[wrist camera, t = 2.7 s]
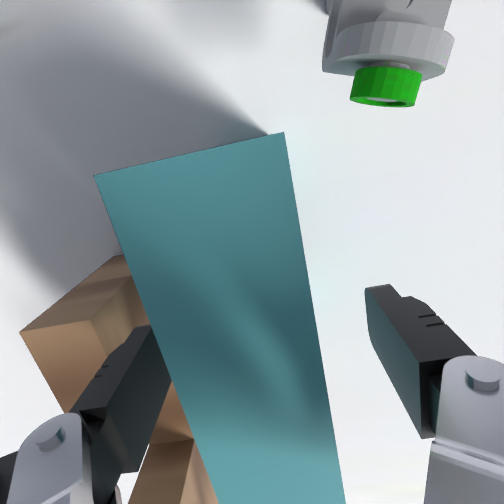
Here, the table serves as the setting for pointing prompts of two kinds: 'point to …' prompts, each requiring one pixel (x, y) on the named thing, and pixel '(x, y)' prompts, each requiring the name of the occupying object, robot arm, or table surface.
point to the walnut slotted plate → (89, 362)
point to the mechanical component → (387, 47)
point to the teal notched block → (233, 315)
